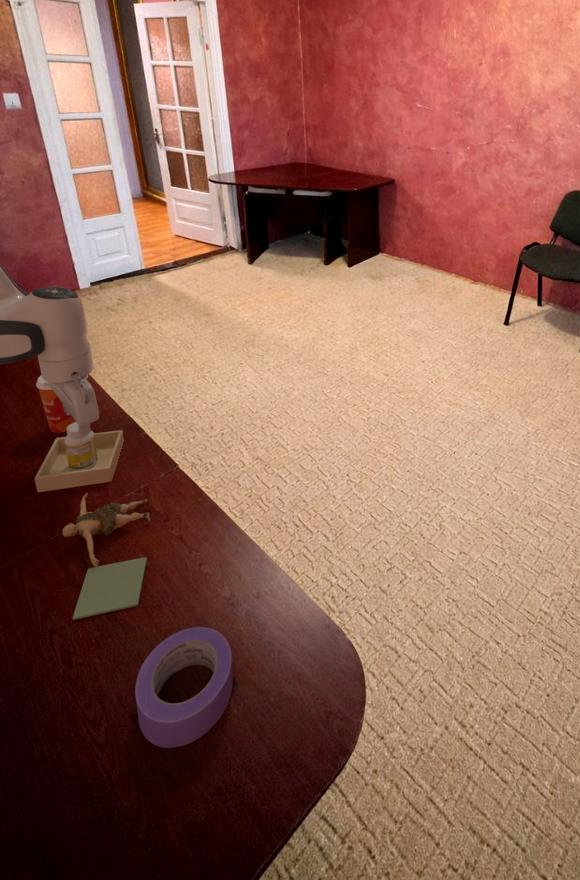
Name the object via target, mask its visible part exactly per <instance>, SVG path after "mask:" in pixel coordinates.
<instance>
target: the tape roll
mask: <svg viewBox="0 0 580 880" xmlns="http://www.w3.org/2000/svg"><path fill="white" fill-rule="evenodd" d="M232 655H233V654H232V649H231V646H230V644H229V642H228V640H227V638H226V637H225V636H224V635H223V634H222V633H220V632H219V631H218V630H216V629H213V628H210V627H205V626H194V627H190V628H186V629H182V630H180V631H177V632H176V633H173V634H171V635H170V636H168V637H167V638H165V639H164V640H162V641H161V642H159V644H158V645H157V646H156V647H154V649H153V650H152V651H151V652H150V653H149V654H148V656H147V657H146V659H145V660H144V662H143V663H142V665H141V667H140V669H139V672H138V675H137V677H136V681H135V688H134V689H135V690H134V695H135V703H136V710H137V719H138V725H139V728H140V731H141V733H142V735H143V736H144V738H145V739H146V740H147V741H148V742H149V743H151V744H153V745H154V746H156V747H158V748H163V749H175V748H176V749H177V748H181V747H183V746H187V745H189V744H191V743H193V742H195V741H197V740H199V739H200V738H201V737H203V736H204V735H205V734H207V733H208V732H210V730H211V729H212V728H213V727H214V726H215V725H216V724H217V722H218V721H219V720H220V719H221V717H222V716H223V714H224V713H225V712H226V711H225V710H226V709H227V707H228V705H229V703H230V700H231V697H232V691H233V684H234V681H233V680H234V679H233V658H232V657H233V656H232ZM191 666H203V667H206V668H208V669H209V670H210V671H211V672H212V673H213V674H212V676H211V678H210V680H209V682H208V683H207V684H206V685H205V687H204V688H203V689H202V690H201V691H200V692H198V693H197V694H196V695H194V696H192V697H191V698H189V699H187V700H185V701H181V702H176V703H175V702H174V703H171V702H167V701H164V700H162V699H161V698H159V694H160V692H161V690H162V689H163V687H164V685H165V684H166V682H167V681H168V680H169V679H170V678H171V677H172V676H174V675H175V674H177V672H179V671H181V670H182V669H186V668H188V667H191Z"/></svg>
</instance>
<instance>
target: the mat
mask: <svg viewBox="0 0 580 880" xmlns="http://www.w3.org/2000/svg"><path fill="white" fill-rule="evenodd" d="M147 560H148V557H147V556H144V557H139V558H133V559H130V560H123V561H119V562H114V563H113V562H112V563H108V564H103V565H98V566H96V567H95V566H93V567H88V568H87V571H86V574H85V578H84V580H83V585H82V587H81V590H80V593H79V596H78V599H77V603H76V606H75V609H74V612H73V614H72V621H77V620H80V619H85V618H89V617H94V616H98V615H103V614H106V613H107V614H108V613H111V612H112V613H113V612H116V611H120V610H125V609H129V608H133V607H138V606H139V604H140V603H139V602H140V599H141V598H140V597H141V593H142V592H141V591H142V586H143V583H144V576H145V571H146V567H147V562H148V561H147Z"/></svg>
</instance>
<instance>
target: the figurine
mask: <svg viewBox="0 0 580 880" xmlns="http://www.w3.org/2000/svg"><path fill="white" fill-rule="evenodd" d="M88 494H89V492H86V493H85V494H84V495H83V497H82V498H81V500H80V503H79V506H80V510H79V515H78V516H76V518H75V524H74V523H72V522H69V523H68V524H67V525H65V526H64V527H63V528H62V537H65V538H71V537H75V536H77V535H79V536H81V537H83V538H84V539H85V540H86V545H87V551H88V555H89V559H90V562H91V564H92V566H93V567H98V566H99V562H100V560H99V559H97V558H96V557H95V556H96V554H94V541H93V536H94V535H96V536H101V535H104V536H109V535H112V534H113V532H114V530H115V531H116V530H117V529H119V528H122V527H124V526H126V525H127V524H129V523H130V522H134V521H137V520H139V519H142V520H146V519H147V521H148V522H150V521H151V517H150V513H149V511H148V512H143V513H139V512H132V513H130V514H127V512H128V511H129V510H134V509H135V508H137V507H138V506H140V505H142V506H144V505H147V504H148V499H146V498H144V499H142V500H140V501H139V500H138V501H131V502H129V503H123V504H120V503H119V502H109V503H108V504H106V505H104V506H103V507H99V508H98V507H97V508H96V509H94V511H87V503H88V501H87V500H86V499H87V498H88Z"/></svg>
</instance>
